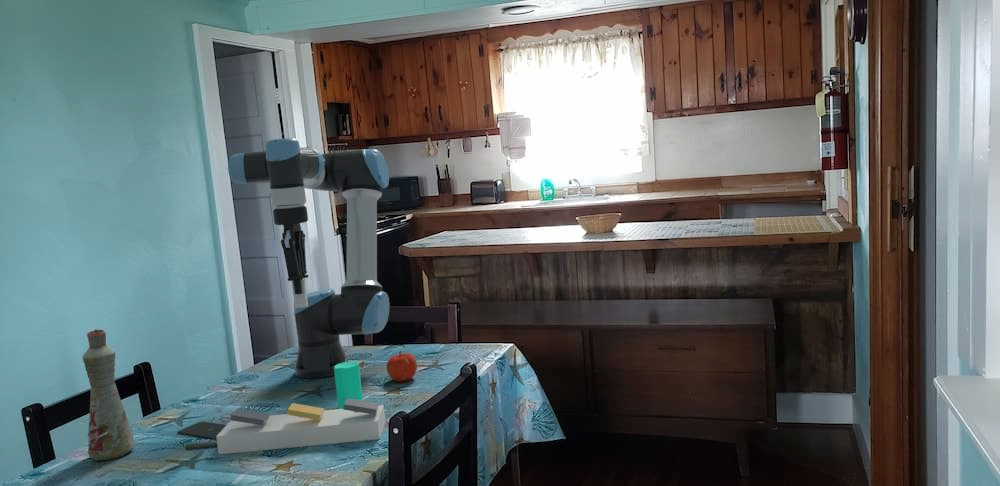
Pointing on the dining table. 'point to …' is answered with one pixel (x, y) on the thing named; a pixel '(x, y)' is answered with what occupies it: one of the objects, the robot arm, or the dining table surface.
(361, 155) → the robot arm
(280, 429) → the power strip
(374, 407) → the block
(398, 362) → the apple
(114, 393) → the bottle
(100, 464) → the dining table surface
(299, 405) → the rocker
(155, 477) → the dining table surface
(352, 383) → the candle
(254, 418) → the block
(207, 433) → the smartphone
